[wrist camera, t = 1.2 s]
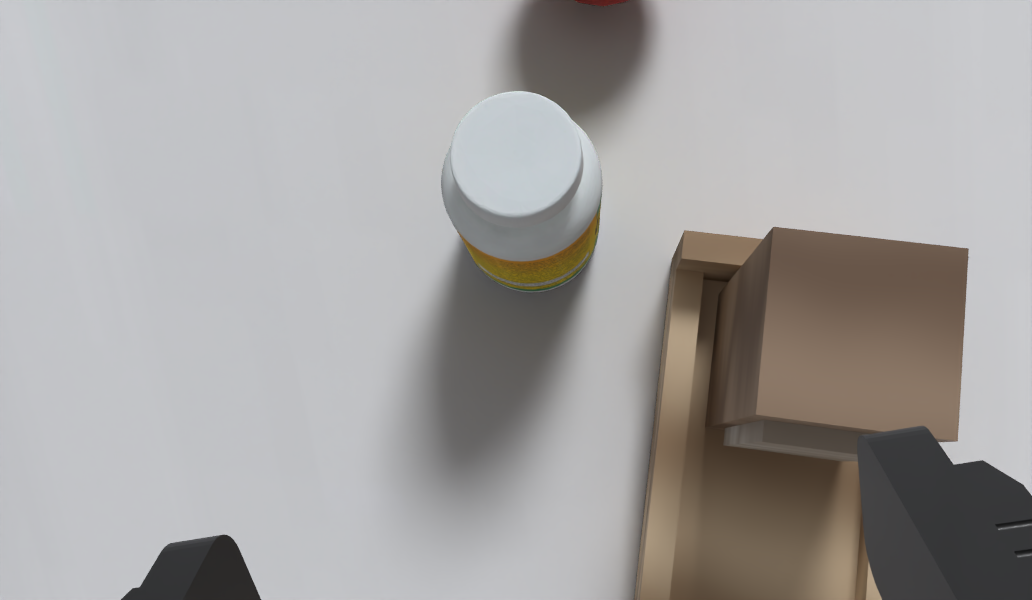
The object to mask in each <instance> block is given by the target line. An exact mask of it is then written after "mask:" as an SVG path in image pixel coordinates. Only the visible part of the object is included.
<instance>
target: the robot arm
mask: <svg viewBox="0 0 1032 600" xmlns="http://www.w3.org/2000/svg"><path fill="white" fill-rule="evenodd" d="M857 456H858V468H859V480H860V492H861V504H862V517H863V529H864V539H865V546H866V551H867V556H868V560H869V564H870V568H871V571H872V575H873V578H874V581H875V584H876V586H877V589H878V591H879V594H880V596H881V598H882V600H1032V496H1031V494H1030V493H1029V492H1028V490H1027V489H1026V488H1025V487H1024V485H1023V484H1021V483H1019V482H1018V481H1016V480H1014V479H1013V478H1011V477H1009V476H1008V475H1006V474H1004V473H1003V472H1001V471H999V470H998V469H996V468H994V467H993V466H991V465H989V464H988V463H986V462H984V461H983V460H982V461H976V462H969V463H963V464H956V465H953V463H952V462H951V461H950V459H949V458H948V456H947V455H946V453H945V452H944V450H943V449H942V448H941V446H940V445H939V443H938V442H937V440H936V439H935V437H934V436H933V435H932V433H931V432H930V431H929V429H928V428H927V427H925V426H917V427H910V428H904V429H898V430H891V431H885V432H879V433H872V434H866V435H860V436H859V437H858V441H857ZM121 600H261V599H260V596H259V594H258V592H257V589H256V587H255V585H254V582H253V580H252V578H251V576H250V573H249V571H248V569H247V566H246V564H245V562H244V559H243V557H242V555H241V552H240V550H239V548H238V546H237V544H236V543H235V541H234V540H233V539H232V538H231V537H229V536H228V535H219V536H213V537H207V538H200V539H194V540H188V541H182V542H175V543H170V544H168V545H167V546H166V547H165V548H164V549H163V550H162V551H161V553H160V555H159V556H158V558H157V560H156V561H155V563H154V565H153V566H152V568H151V570H150V571H149V573H148V575H147V576H146V578H145V580H144V581H143V583H142V585H141V586H140V587H139V588H133V589H132V590H131V591H129V592H128V593H127V594H126V595H125V596H124V597H123V598H122V599H121Z"/></svg>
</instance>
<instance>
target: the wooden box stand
mask: <svg viewBox="0 0 1032 600" xmlns="http://www.w3.org/2000/svg"><path fill="white" fill-rule="evenodd" d="M967 267H968V249H967V248H958V247H949V246H940V245H931V244H922V243H913V242H904V241H895V240H886V239H877V238H869V237H860V236H851V235H842V234H833V233H824V232H815V231H806V230H797V229H788V228H779V227H773V228H772V229H771V230H770V232H769V233H768V234H767V235H766V237H765V238H764V239H756V238H747V237H738V236H729V235H720V234H712V233H703V232H694V231H684V233H683V235H682V237H681V240H680V242H679V244H678V247H677V249H676V251H675V253H674V256H673V258H672V265H671V274H670V283H669V292H668V301H667V310H666V319H665V328H664V337H663V346H662V355H661V364H660V373H659V382H658V391H657V399H656V408H655V417H654V426H653V435H652V444H651V453H650V462H649V471H648V480H647V489H646V498H645V507H644V516H643V525H642V534H641V543H640V552H639V561H638V570H637V579H636V588H635V597H634V600H882V598H881V596H880V594H879V591H878V589H877V586H876V584H875V581H874V578H873V575H872V571H871V568H870V564H869V560H868V556H867V551H866V546H865V539H864V529H863V517H862V504H861V492H860V480H859V468H858V456H857V441H858V437H859V436H860V435H866V434H872V433H879V432H885V431H891V430H898V429H904V428H910V427H917V426H925V427H927V428H928V429H929V431H930V432H931V433H932V435H933V436H934V437H935V439H936V440H937V442H953V441H958V426H959V408H960V390H961V373H962V355H963V337H964V320H965V302H966V284H967Z"/></svg>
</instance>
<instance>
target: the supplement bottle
mask: <svg viewBox="0 0 1032 600" xmlns="http://www.w3.org/2000/svg"><path fill="white" fill-rule="evenodd" d="M441 187H442V196H443V201H444V205H445V208H446V211H447V213H448V215H449V217H450V219H451V221H452V223H453V225H454V226H455V228H456V230H457V232H458V233H459V235H460V237H461V238H462V240H463V242H464V244H465V246H466V248H467V249H468V251H469V253H470V255H471V256H472V258H473V260H474V262H475V263H476V265H477V266H478V267H479V268H480V269H481V271H482V272H483V273H484V274H486V275H487V276H488V277H489V278H490V279H492V280H493V281H495V282H496V283H498V284H500V285H502V286H504V287H507V288H509V289H513V290H516V291H521V292H532V293H535V292H544V291H548V290H552V289H555V288H558V287H560V286H562V285H564V284H566V283H567V282H569V281H571V280H572V279H573V278H575V277H576V276H577V275H578V274H579V273H580V272H581V271H582V269H583V268H584V267H585V266H586V264H587V263H588V261H589V259H590V257H591V255H592V253H593V251H594V248H595V245H596V242H597V238H598V232H599V220H600V208H601V197H602V171H601V166H600V161H599V158H598V155H597V152H596V150H595V148H594V146H593V144H592V142H591V140H590V139H589V137H588V136H587V135H586V133H585V132H584V131H583V130H582V129H581V128H580V127H579V126H578V125H577V124H576V123H575V122H574V121H573V120H572V119H571V118H570V117H569V115H568V114H567V113H566V111H565V110H563V109H562V108H561V107H560V106H559V105H557V104H556V103H555V102H553V101H551V100H550V99H548V98H546V97H544V96H541V95H539V94H536V93H531V92H525V91H511V92H505V93H500V94H496V95H494V96H491V97H489V98H487V99H485V100H483V101H481V102H480V103H478V104H477V105H475V106H474V107H473V108H472V109H471V110H470V111H469V112H468V113H467V114H466V115H465V116H464V118H463V119H462V120H461V122H460V123H459V125H458V127H457V128H456V131H455V133H454V136H453V139H452V143H451V146H450V148H449V150H448V153H447V155H446V158H445V161H444V165H443V169H442V177H441Z"/></svg>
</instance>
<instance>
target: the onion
mask: <svg viewBox="0 0 1032 600" xmlns="http://www.w3.org/2000/svg"><path fill="white" fill-rule="evenodd" d="M575 1H577V2H579V3H584V4H591V5H597V6H608V5H612V4H617V3H622V2H626V1H628V0H575Z"/></svg>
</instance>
